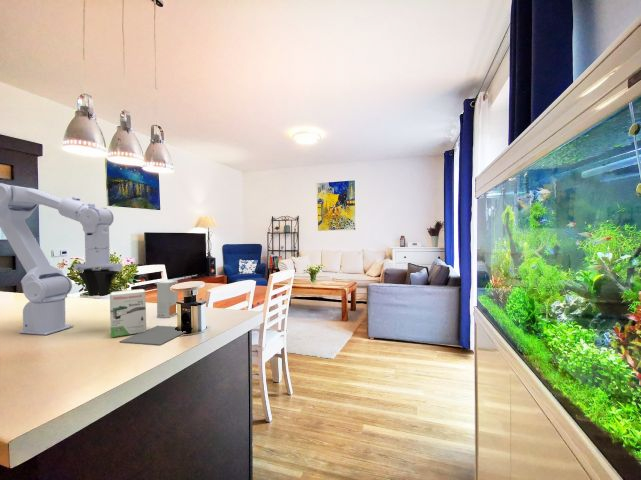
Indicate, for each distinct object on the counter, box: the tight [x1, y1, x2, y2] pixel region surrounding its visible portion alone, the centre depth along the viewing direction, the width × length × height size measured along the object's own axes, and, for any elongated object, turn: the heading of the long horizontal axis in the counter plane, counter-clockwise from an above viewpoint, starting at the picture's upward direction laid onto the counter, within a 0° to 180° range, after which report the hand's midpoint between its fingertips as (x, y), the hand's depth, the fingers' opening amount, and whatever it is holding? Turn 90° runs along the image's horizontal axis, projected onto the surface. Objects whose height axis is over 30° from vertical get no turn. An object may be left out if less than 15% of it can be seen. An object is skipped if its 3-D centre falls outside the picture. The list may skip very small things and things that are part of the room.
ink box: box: [109, 288, 147, 338], centre depth 86 cm, size 9×5×12 cm, turn 124°
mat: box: [119, 325, 187, 346], centre depth 85 cm, size 12×14×1 cm
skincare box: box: [156, 279, 179, 319], centre depth 105 cm, size 6×4×12 cm
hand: (98, 295), depth 88 cm, fingers open, 3 cm apart
